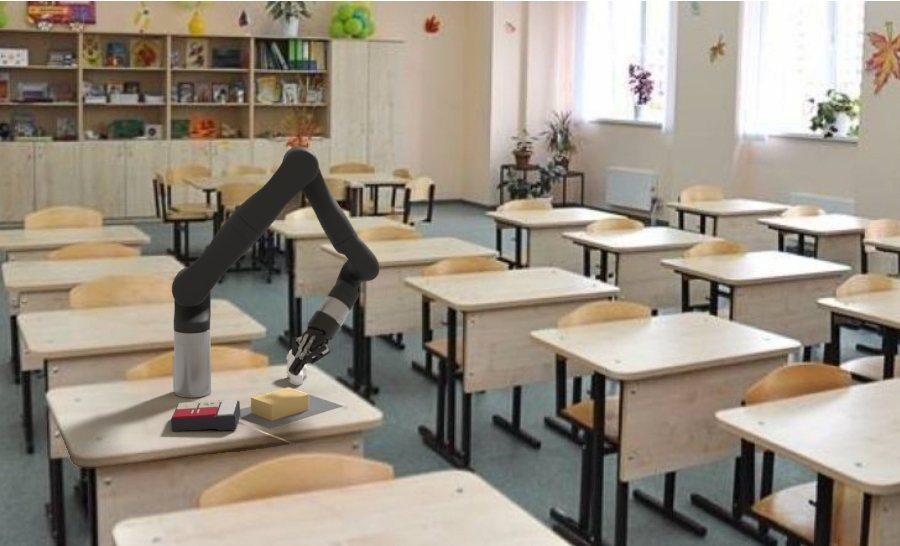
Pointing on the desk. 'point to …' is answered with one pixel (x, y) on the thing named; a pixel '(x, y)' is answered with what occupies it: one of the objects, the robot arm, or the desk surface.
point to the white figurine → (299, 378)
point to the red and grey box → (206, 415)
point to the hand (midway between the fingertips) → (292, 373)
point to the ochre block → (279, 403)
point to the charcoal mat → (315, 408)
